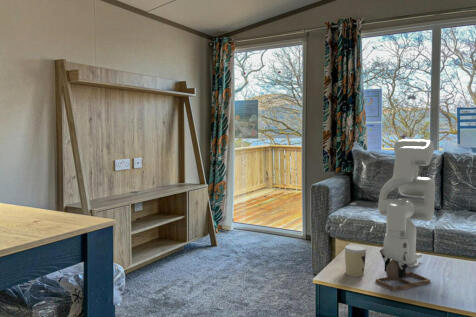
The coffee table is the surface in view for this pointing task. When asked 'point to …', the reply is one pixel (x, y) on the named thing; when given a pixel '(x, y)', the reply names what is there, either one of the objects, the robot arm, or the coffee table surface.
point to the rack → (408, 284)
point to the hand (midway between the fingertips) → (394, 273)
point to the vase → (393, 270)
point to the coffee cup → (355, 260)
